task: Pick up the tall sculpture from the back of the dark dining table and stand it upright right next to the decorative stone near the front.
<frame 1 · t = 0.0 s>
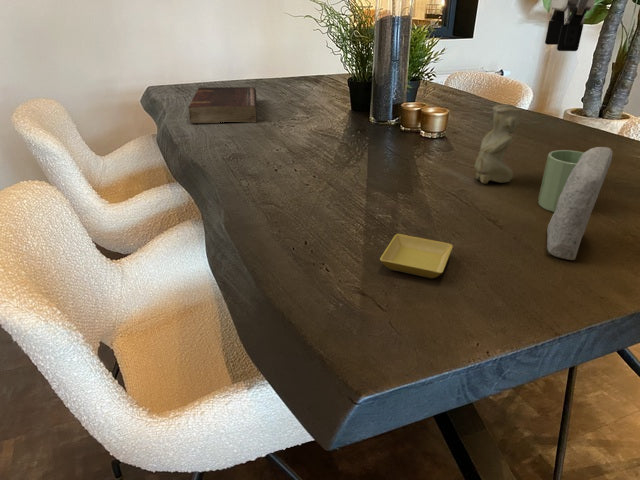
hand: (560, 47, 86), 25 cm above the table, tool pointing down, fingers open, 9 cm apart
sage cup: (561, 205, 88), on the table
decorative stone: (564, 246, 74), on the table
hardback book: (226, 112, 153), on the table
sculpture: (491, 182, 98), on the table
yellow shallow tray: (416, 265, 70), on the table
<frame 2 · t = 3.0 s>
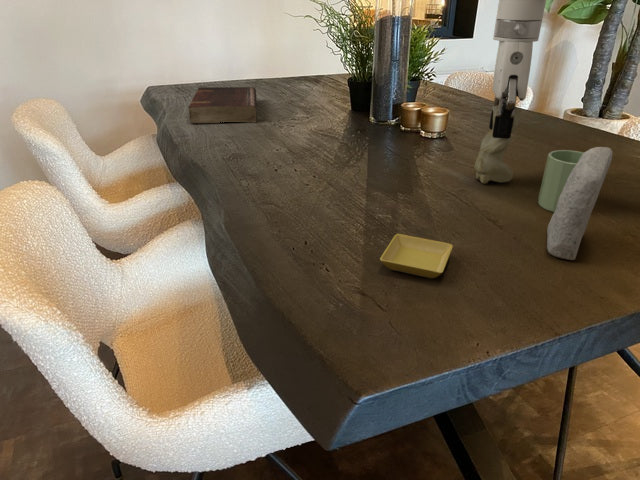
hand: (499, 132, 94), 10 cm above the table, tool pointing down, fingers closed on sculpture, 5 cm apart
sculpture: (491, 182, 98), on the table, touching gripper
everything else where it was.
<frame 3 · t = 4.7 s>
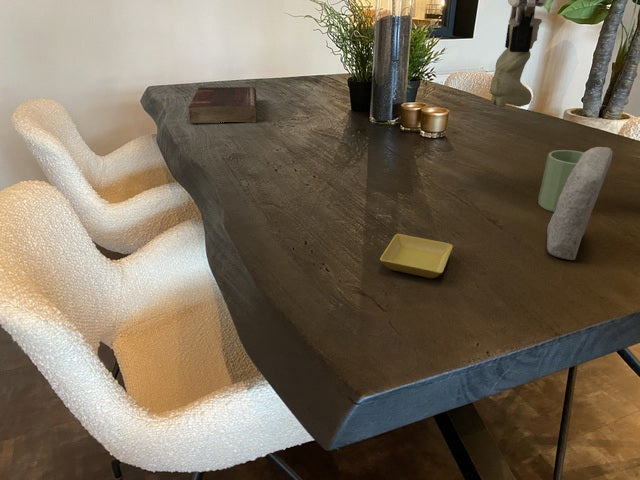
hand: (516, 48, 86), 25 cm above the table, tool pointing down, fingers closed on sculpture, 5 cm apart
sculpture: (508, 107, 91), point 15 cm above the table, touching gripper
everything else where it was.
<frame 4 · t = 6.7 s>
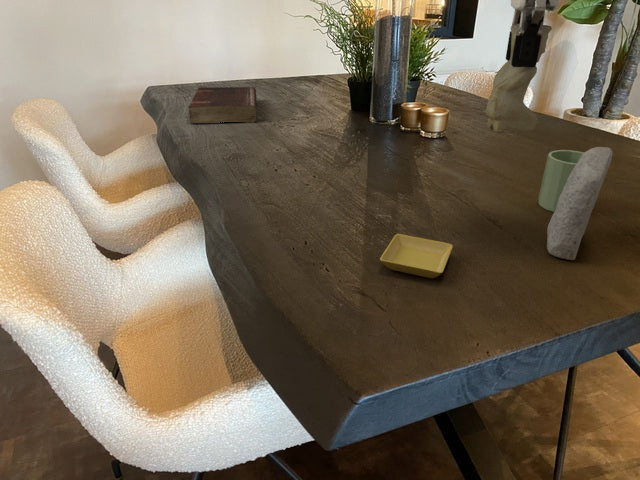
hand: (520, 62, 70), 25 cm above the table, tool pointing down, fingers closed on sculpture, 5 cm apart
sculpture: (508, 132, 74), point 15 cm above the table, touching gripper
everything else where it was.
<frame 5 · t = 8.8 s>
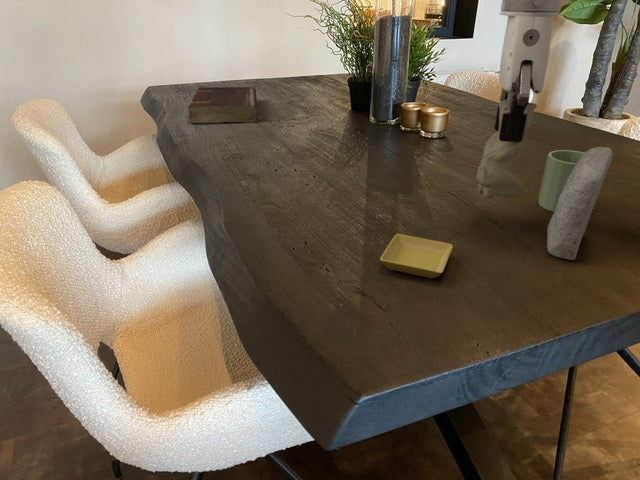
hand: (507, 134, 74), 15 cm above the table, tool pointing down, fingers closed on sculpture, 5 cm apart
sculpture: (497, 196, 79), point 5 cm above the table, touching gripper
everything else where it was.
when the fingers open (10 cm above the table, at t = 10.4 s): sculpture stays where it is, on the table.
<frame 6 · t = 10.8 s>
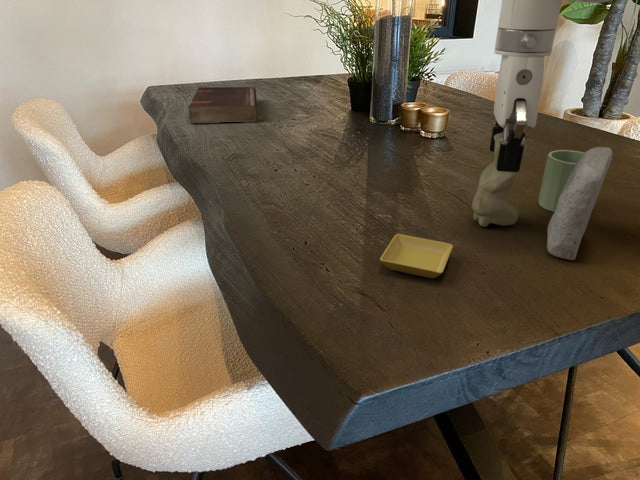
hand: (503, 160, 76), 11 cm above the table, tool pointing down, fingers open, 9 cm apart
sculpture: (492, 224, 81), on the table
everything else where it was.
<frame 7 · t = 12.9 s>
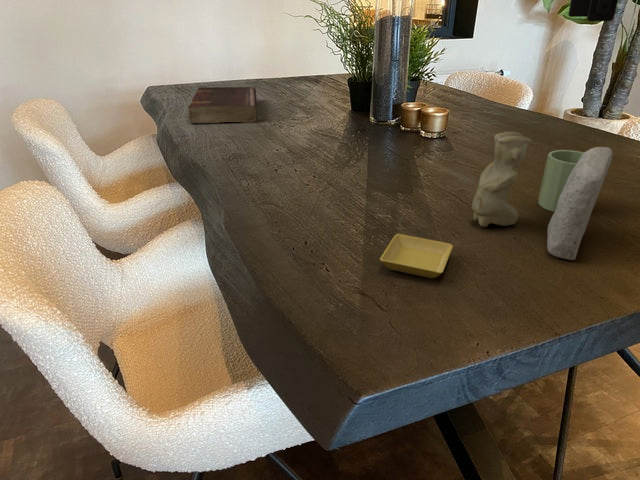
hand: (589, 18, 71), 31 cm above the table, tool pointing down, fingers open, 9 cm apart
nothing on the table moved.
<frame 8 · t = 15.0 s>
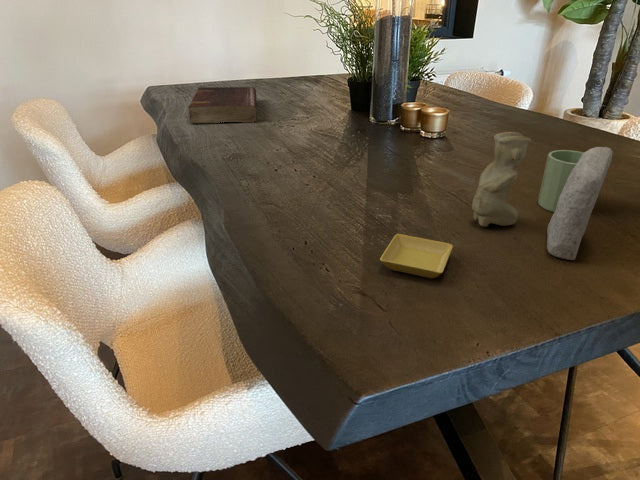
nothing on the table moved.
at the end: sculpture 11.6 cm from the decorative stone (horizontally); sculpture tilted 0°; sculpture on the table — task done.
